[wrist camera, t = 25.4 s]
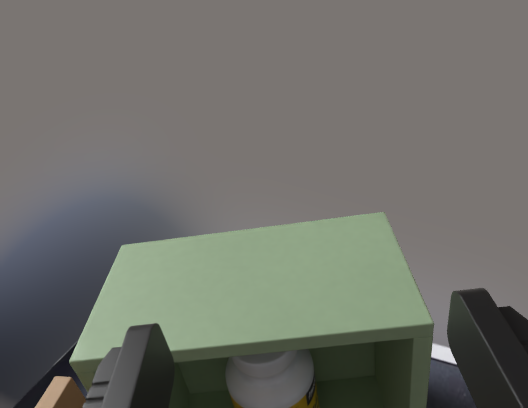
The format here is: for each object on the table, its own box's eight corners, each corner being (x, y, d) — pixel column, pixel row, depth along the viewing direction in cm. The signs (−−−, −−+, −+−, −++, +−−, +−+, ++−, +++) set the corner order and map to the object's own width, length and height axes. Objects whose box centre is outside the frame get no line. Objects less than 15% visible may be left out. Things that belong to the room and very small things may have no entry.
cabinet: (418, 493, 30) (434, 323, 21) (163, 512, 32) (67, 362, 22) (384, 372, 39) (384, 211, 29) (183, 391, 40) (121, 244, 31)
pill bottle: (316, 479, 31) (300, 385, 25) (234, 463, 33) (200, 371, 27) (327, 398, 36) (316, 303, 30) (256, 388, 38) (231, 297, 32)
